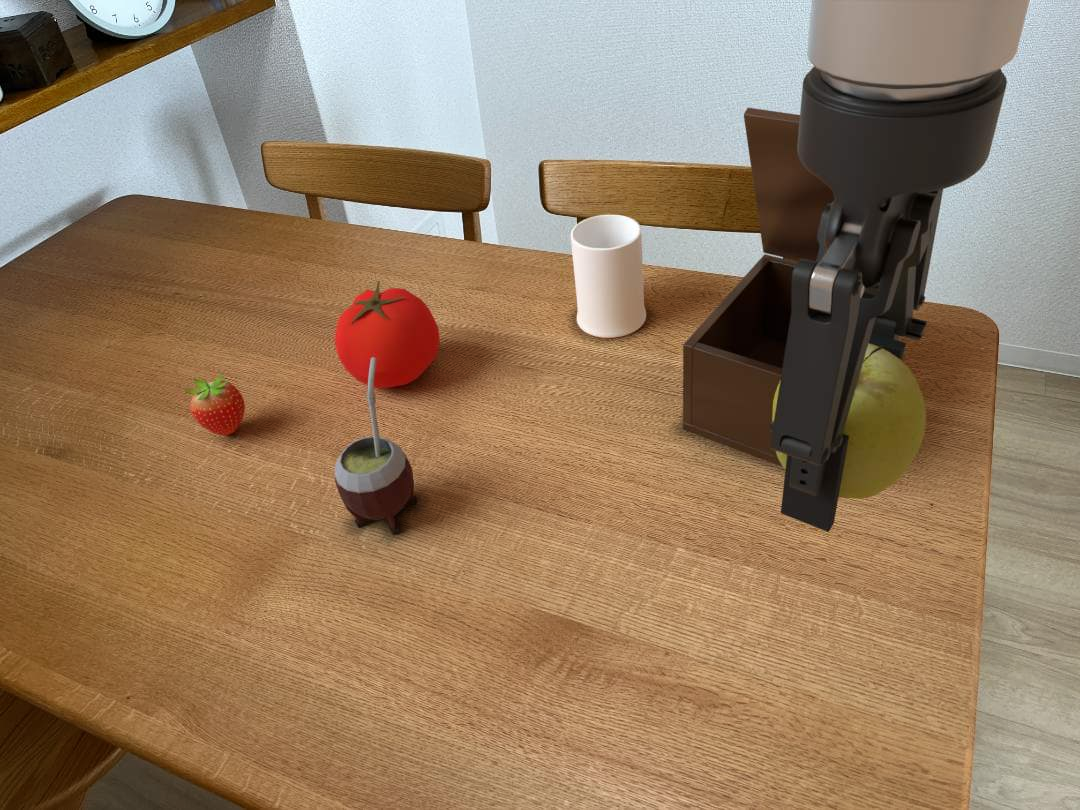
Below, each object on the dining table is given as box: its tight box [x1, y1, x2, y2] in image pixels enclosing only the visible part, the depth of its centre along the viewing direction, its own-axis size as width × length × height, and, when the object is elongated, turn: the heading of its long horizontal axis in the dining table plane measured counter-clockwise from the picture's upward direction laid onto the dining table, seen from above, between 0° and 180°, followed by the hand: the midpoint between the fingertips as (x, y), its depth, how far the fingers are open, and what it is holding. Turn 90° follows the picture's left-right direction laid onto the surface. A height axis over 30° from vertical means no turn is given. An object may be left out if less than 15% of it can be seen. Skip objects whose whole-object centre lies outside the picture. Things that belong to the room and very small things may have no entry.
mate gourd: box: [334, 358, 418, 536], centre depth 75 cm, size 8×8×15 cm
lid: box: [743, 107, 834, 262], centre depth 76 cm, size 19×15×10 cm
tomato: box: [334, 280, 441, 389], centre depth 92 cm, size 12×12×11 cm
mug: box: [570, 214, 647, 339], centre depth 97 cm, size 12×8×12 cm
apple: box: [772, 343, 927, 500], centre depth 44 cm, size 8×8×10 cm
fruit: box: [182, 373, 246, 436], centre depth 88 cm, size 5×5×8 cm
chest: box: [682, 253, 798, 468], centre depth 81 cm, size 18×15×11 cm
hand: (836, 469), depth 47 cm, fingers closed on apple, 8 cm apart
